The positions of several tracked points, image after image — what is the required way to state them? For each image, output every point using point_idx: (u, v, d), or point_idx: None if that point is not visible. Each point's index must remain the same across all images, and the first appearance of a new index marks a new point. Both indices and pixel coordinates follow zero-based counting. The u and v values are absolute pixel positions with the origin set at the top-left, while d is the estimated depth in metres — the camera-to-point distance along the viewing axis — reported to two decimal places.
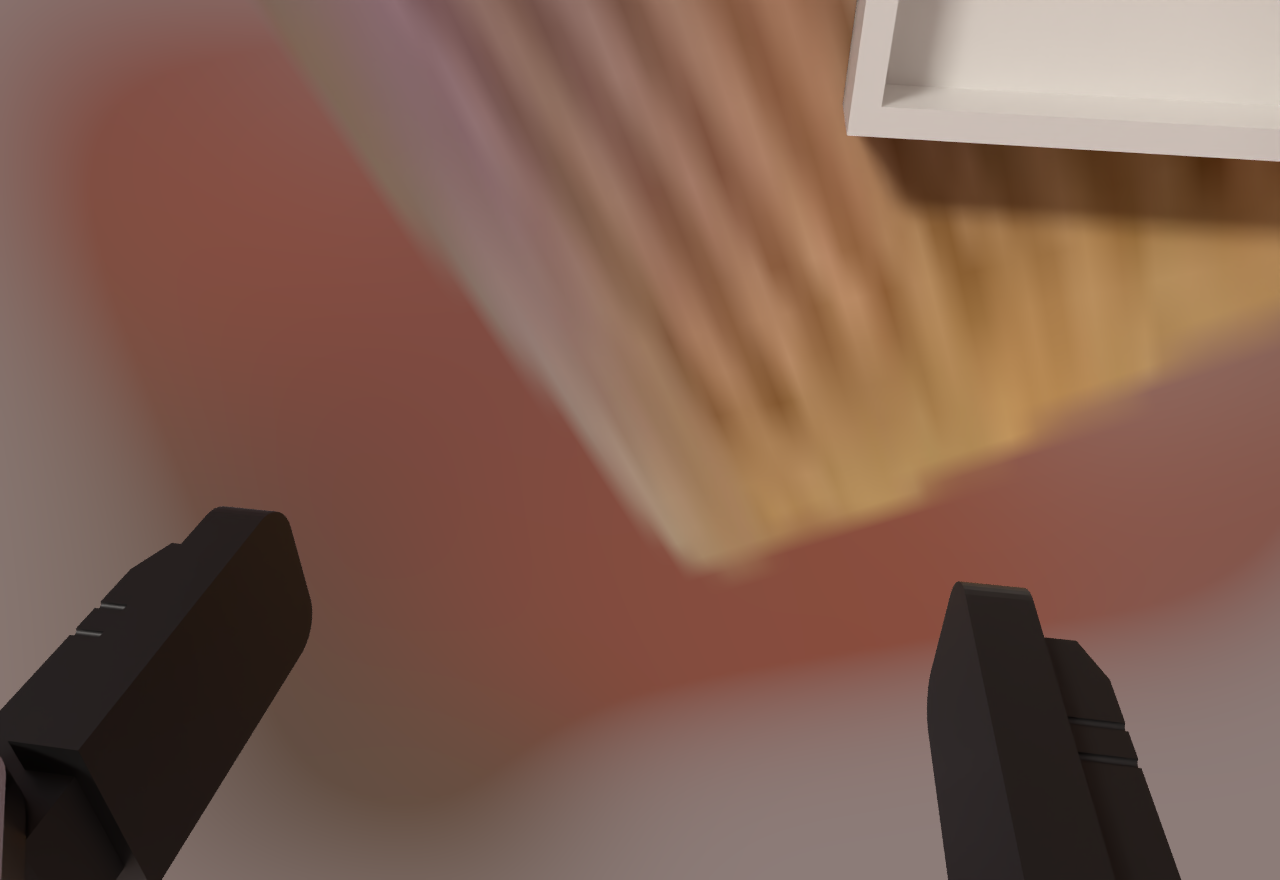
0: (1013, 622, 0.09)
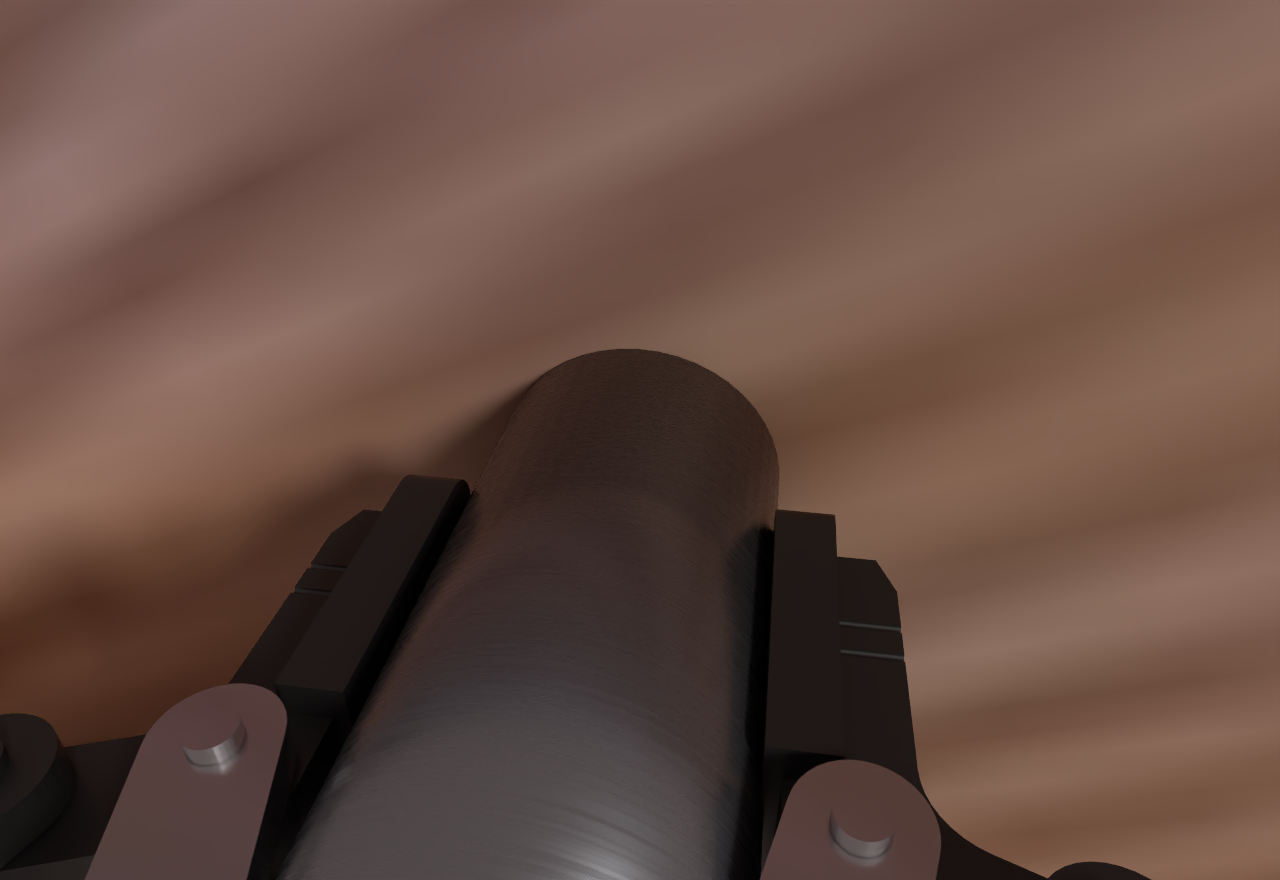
0: (812, 541, 0.10)
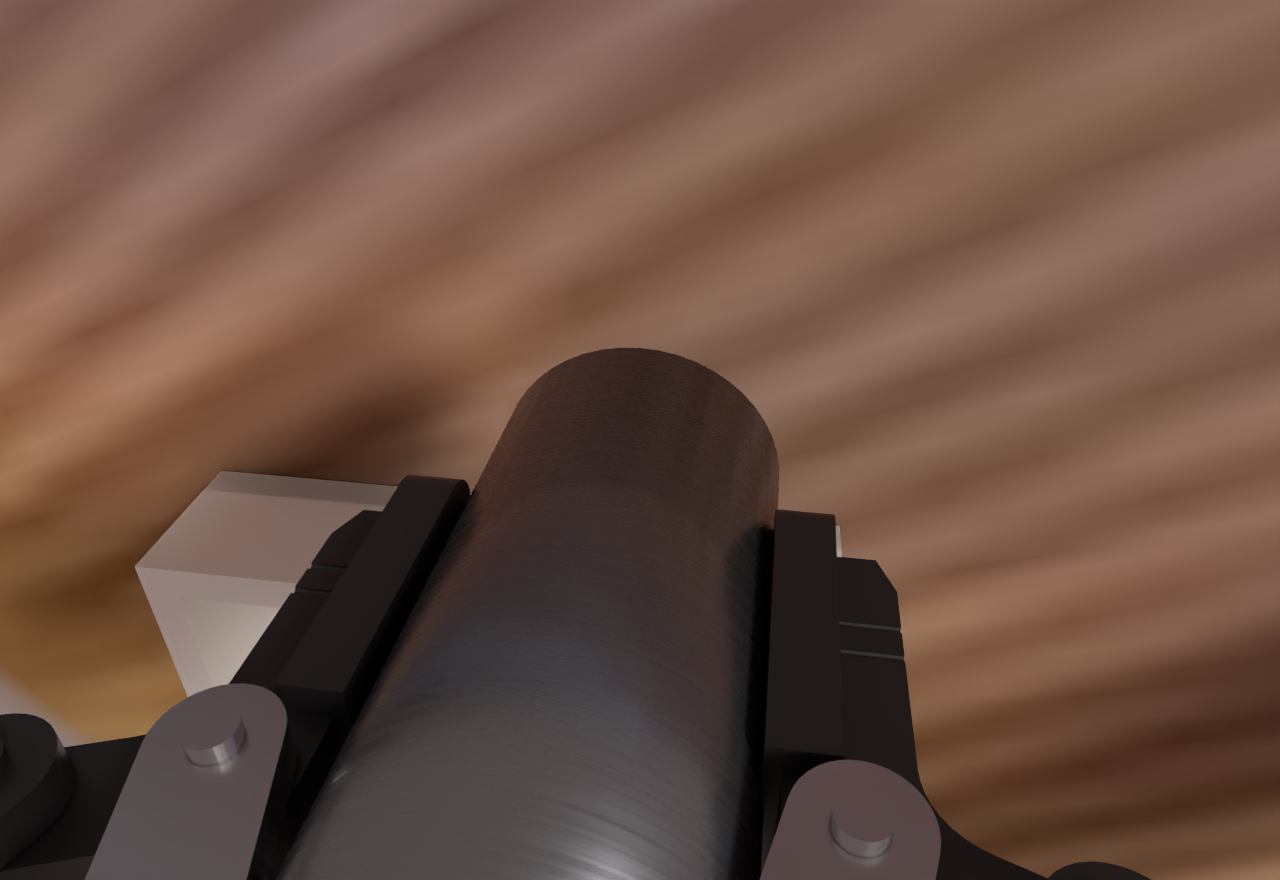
0: (812, 540, 0.10)
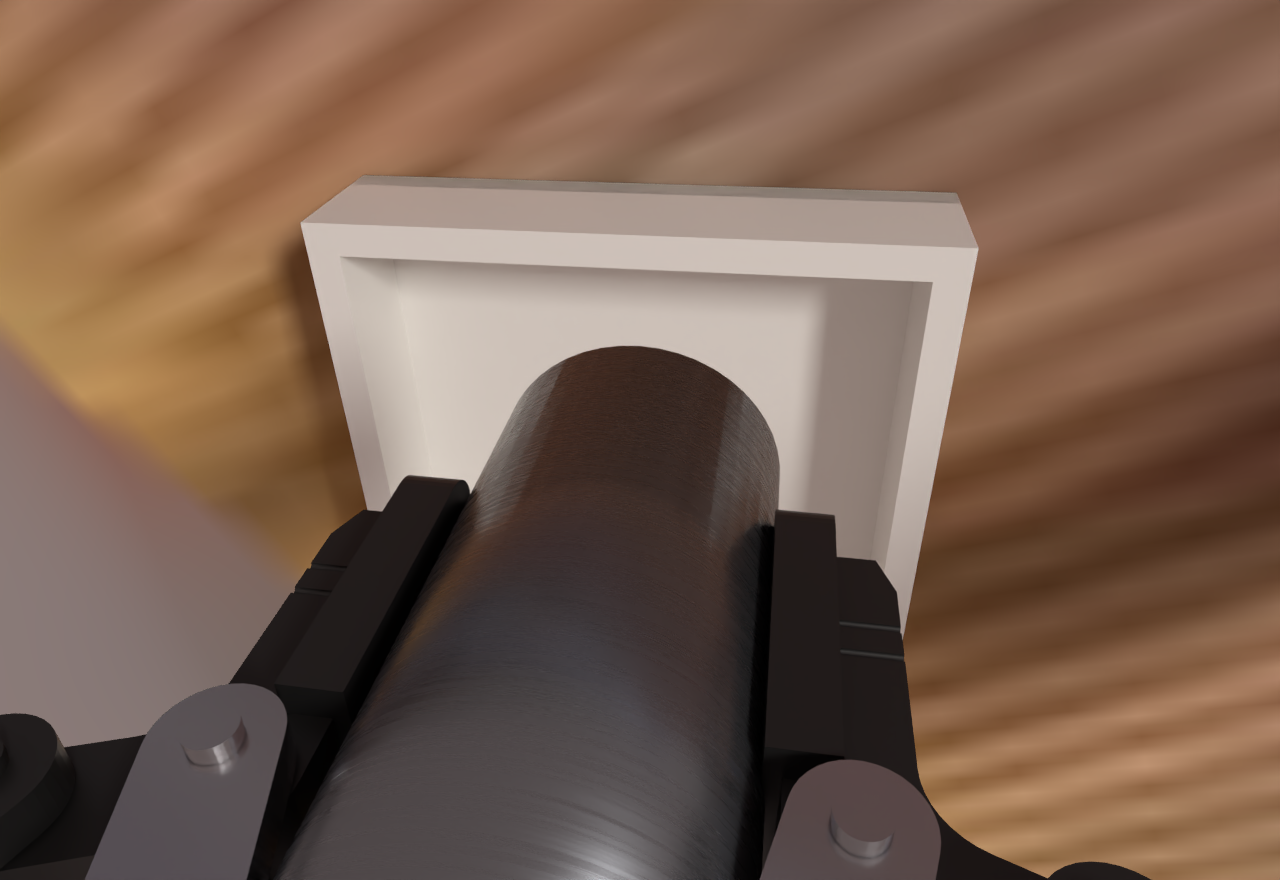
0: (812, 541, 0.10)
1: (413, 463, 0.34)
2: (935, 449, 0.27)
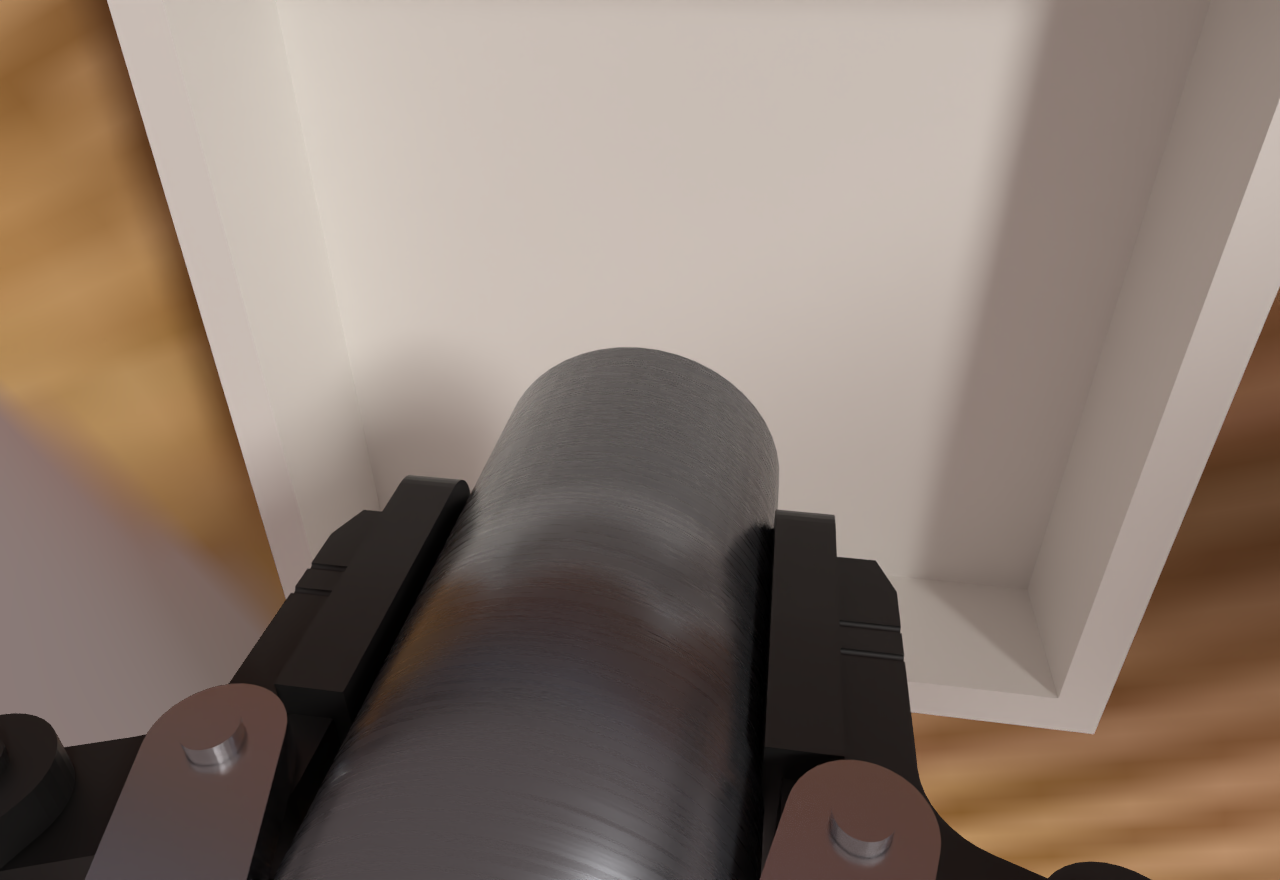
0: (812, 541, 0.10)
1: (307, 313, 0.20)
2: None
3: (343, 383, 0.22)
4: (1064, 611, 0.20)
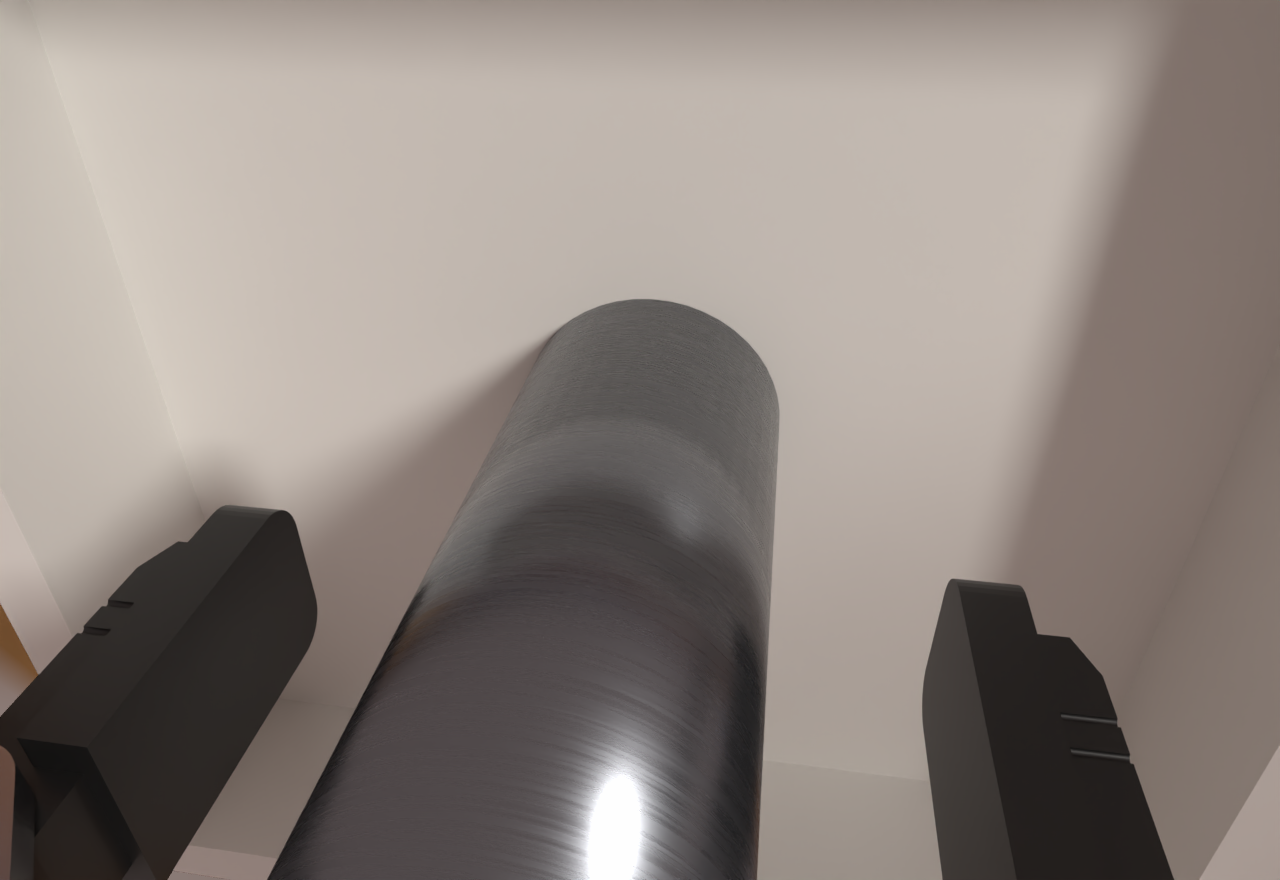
0: (1006, 619, 0.09)
1: (124, 469, 0.15)
2: None
3: None
4: None
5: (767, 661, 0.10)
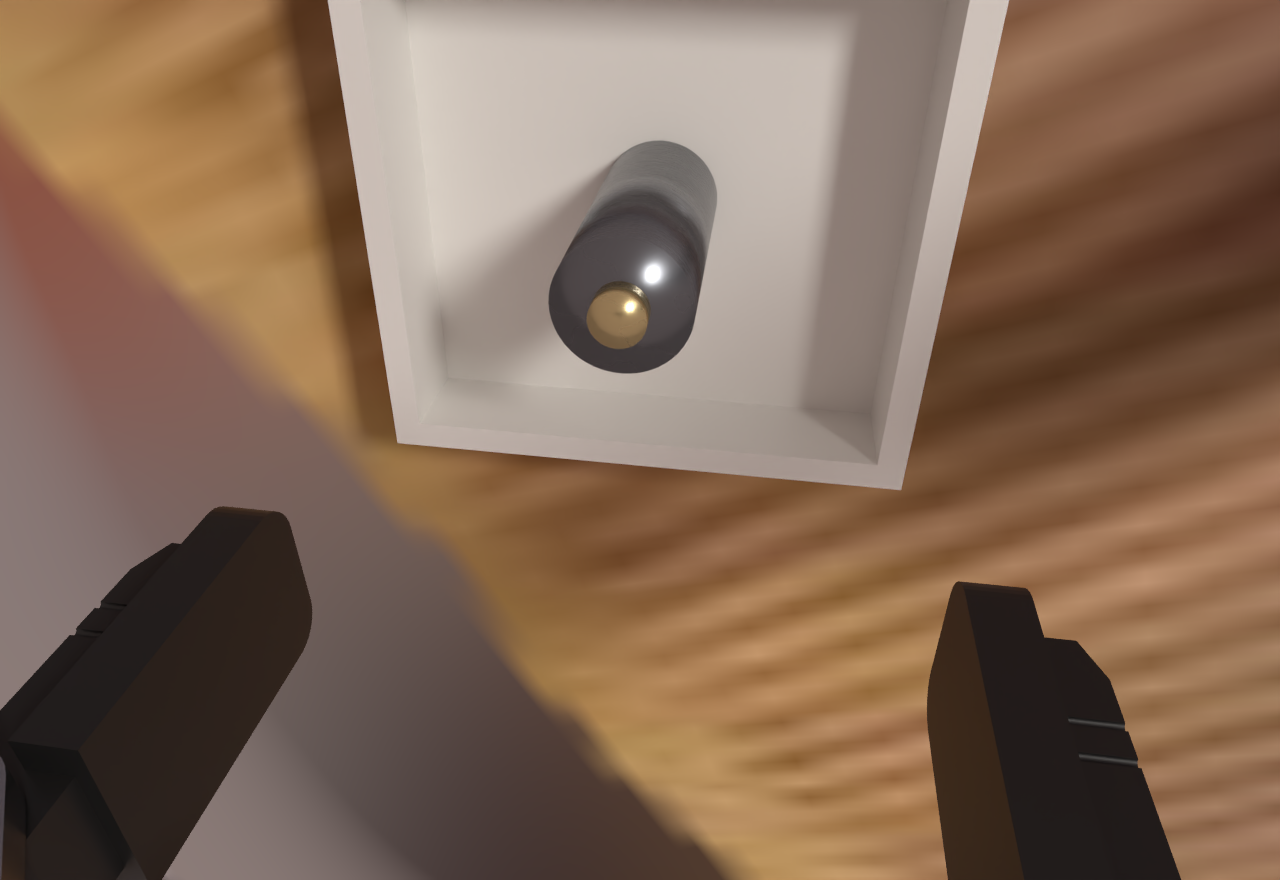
0: (1013, 622, 0.09)
1: (416, 223, 0.32)
2: (967, 170, 0.27)
3: (431, 274, 0.34)
4: (882, 412, 0.33)
5: (706, 254, 0.28)
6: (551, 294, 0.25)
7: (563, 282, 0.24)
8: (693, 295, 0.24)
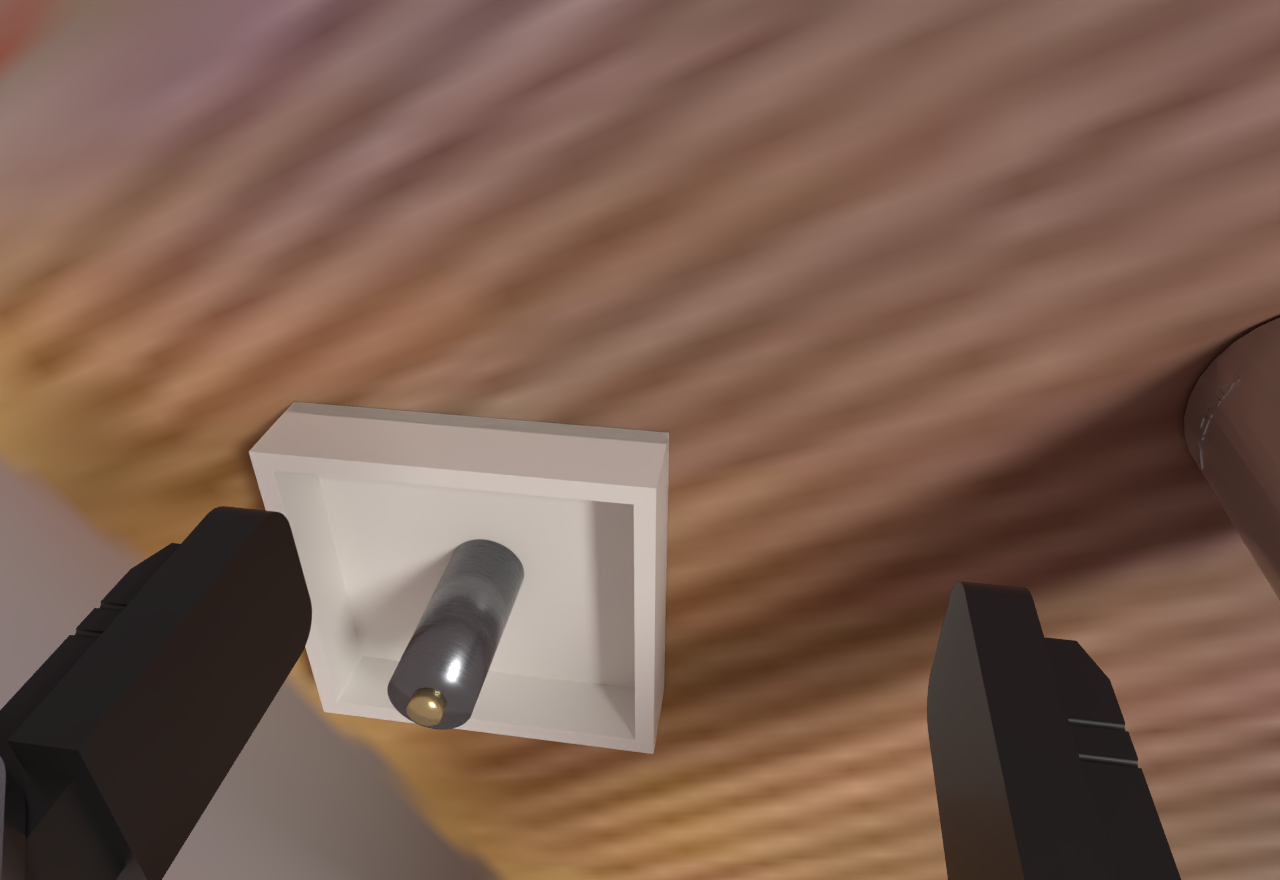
0: (1013, 622, 0.09)
1: (330, 583, 0.49)
2: (652, 596, 0.43)
3: (344, 603, 0.51)
4: None
5: (497, 638, 0.44)
6: (388, 690, 0.41)
7: (395, 686, 0.41)
8: (469, 696, 0.41)
